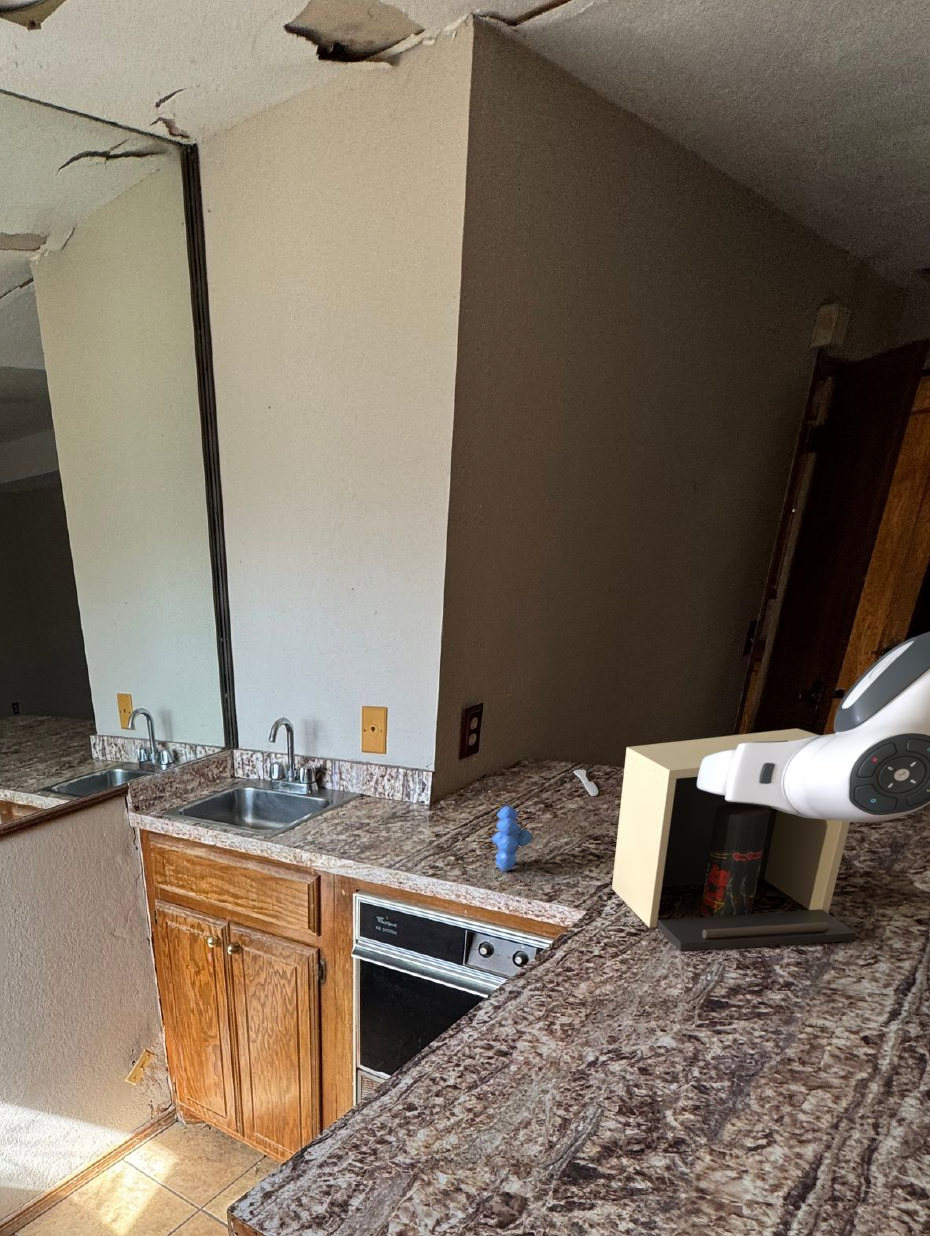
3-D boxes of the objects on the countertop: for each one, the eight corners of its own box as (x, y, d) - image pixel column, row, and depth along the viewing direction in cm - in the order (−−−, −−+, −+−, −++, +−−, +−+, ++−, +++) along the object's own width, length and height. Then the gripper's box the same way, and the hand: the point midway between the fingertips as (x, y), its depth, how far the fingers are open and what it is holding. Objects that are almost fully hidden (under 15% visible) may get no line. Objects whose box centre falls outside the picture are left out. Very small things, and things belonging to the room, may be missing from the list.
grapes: (534, 881, 131) (538, 812, 126) (490, 882, 133) (493, 814, 128) (529, 859, 141) (533, 793, 135) (489, 860, 143) (491, 796, 138)
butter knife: (586, 769, 188) (573, 770, 189) (601, 794, 168) (586, 795, 169) (586, 770, 188) (572, 771, 189) (601, 796, 168) (586, 797, 169)
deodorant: (759, 919, 107) (779, 812, 101) (710, 922, 108) (728, 817, 102) (739, 903, 112) (757, 801, 106) (693, 906, 114) (708, 805, 107)
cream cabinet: (768, 877, 119) (797, 728, 109) (864, 940, 98) (910, 763, 88) (611, 888, 124) (626, 747, 114) (671, 951, 103) (695, 784, 93)
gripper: (961, 751, 78) (894, 756, 91) (725, 741, 85) (693, 747, 97) (941, 814, 80) (878, 811, 92) (711, 800, 86) (681, 798, 99)
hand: (781, 778), depth 95 cm, fingers open, 8 cm apart
